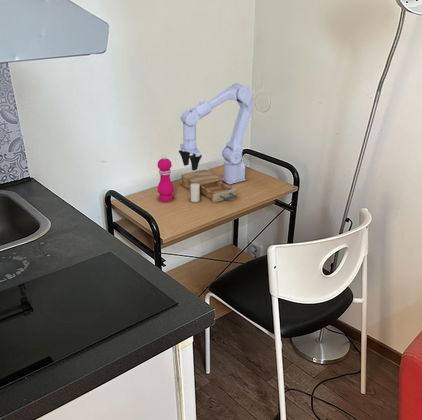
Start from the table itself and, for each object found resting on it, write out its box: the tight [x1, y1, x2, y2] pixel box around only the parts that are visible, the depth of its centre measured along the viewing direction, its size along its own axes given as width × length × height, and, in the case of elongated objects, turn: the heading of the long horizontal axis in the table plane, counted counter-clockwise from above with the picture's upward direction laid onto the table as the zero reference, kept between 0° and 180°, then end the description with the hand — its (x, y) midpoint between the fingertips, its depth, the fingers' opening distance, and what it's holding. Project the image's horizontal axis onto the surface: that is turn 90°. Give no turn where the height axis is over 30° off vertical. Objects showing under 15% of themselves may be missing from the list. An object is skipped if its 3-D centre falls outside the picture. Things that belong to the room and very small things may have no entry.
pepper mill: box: [156, 154, 175, 203], centre depth 190 cm, size 7×7×20 cm
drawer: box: [200, 181, 238, 203], centre depth 192 cm, size 18×11×3 cm, turn 27°
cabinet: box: [181, 169, 223, 196], centre depth 203 cm, size 15×13×5 cm
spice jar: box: [189, 183, 201, 203], centre depth 190 cm, size 4×4×7 cm
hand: (190, 167), depth 201 cm, fingers open, 7 cm apart
